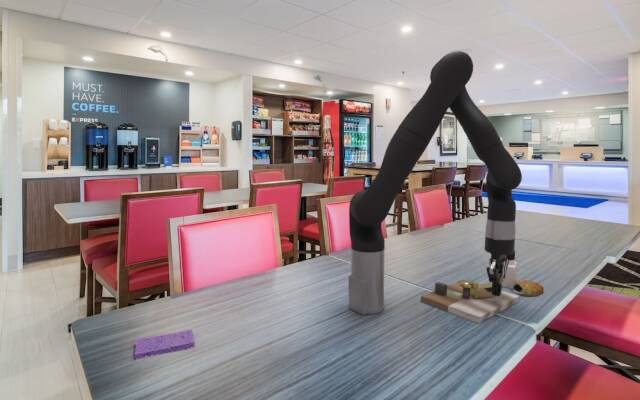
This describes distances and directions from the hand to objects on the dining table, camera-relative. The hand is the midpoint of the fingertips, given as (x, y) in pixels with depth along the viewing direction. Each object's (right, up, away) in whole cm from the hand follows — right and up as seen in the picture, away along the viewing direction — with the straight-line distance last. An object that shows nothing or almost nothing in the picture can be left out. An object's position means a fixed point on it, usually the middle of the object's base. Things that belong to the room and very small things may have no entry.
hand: (496, 295), depth 106 cm
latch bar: (-4, -1, +2) cm, 5 cm away
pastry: (+14, -2, +10) cm, 17 cm away
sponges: (-86, -7, -20) cm, 89 cm away
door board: (-6, -3, +3) cm, 8 cm away
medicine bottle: (+10, -1, +17) cm, 20 cm away
